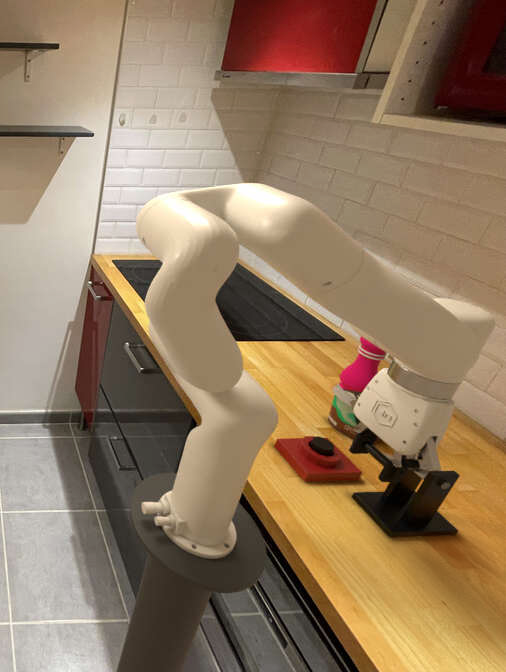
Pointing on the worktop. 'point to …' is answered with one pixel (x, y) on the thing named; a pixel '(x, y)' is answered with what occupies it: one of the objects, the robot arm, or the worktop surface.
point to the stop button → (322, 446)
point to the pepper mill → (362, 367)
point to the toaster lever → (389, 458)
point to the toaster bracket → (411, 505)
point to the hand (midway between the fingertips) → (373, 465)
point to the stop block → (316, 461)
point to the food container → (344, 411)
